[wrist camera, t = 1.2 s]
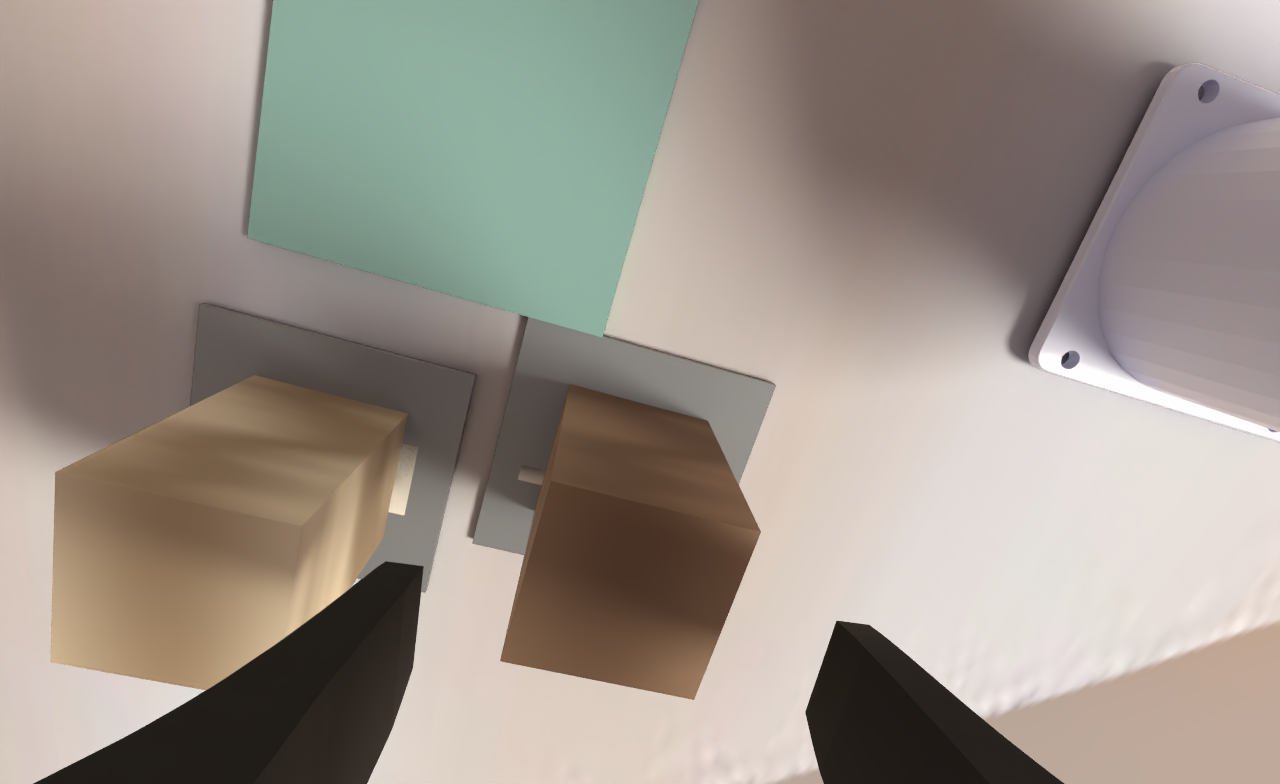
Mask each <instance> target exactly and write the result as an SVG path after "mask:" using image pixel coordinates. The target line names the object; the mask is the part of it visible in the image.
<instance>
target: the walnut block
mask: <svg viewBox="0 0 1280 784" xmlns="http://www.w3.org/2000/svg"><path fill="white" fill-rule="evenodd" d="M760 533H761V531H760V529H759V527H758V525H757V523H756V521H755V519H754V517H753V514H752V512H751V510H750V508H749V506H748V504H747V502H746V500H745V498H744V496H743V493H742V491H741V489H740V487H739V485H738V483H737V481H736V479H735V477H734V474H733V472H732V470H731V468H730V466H729V464H728V462H727V460H726V458H725V455H724V453H723V451H722V449H721V447H720V445H719V443H718V441H717V439H716V437H715V434H714V432H713V430H712V428H711V426H710V424H709V422H708V421H707V420H703V419H699V418H695V417H692V416H688V415H684V414H680V413H677V412H673V411H669V410H666V409H662V408H658V407H654V406H651V405H647V404H643V403H639V402H636V401H632V400H628V399H624V398H621V397H617V396H613V395H609V394H606V393H602V392H598V391H594V390H591V389H587V388H583V387H579V386H576V385H572V384H570V385H569V389H568V392H567V396H566V399H565V403H564V407H563V410H562V414H561V417H560V421H559V425H558V428H557V432H556V436H555V439H554V443H553V446H552V450H551V454H550V457H549V461H548V465H547V468H546V472H545V475H544V479H543V483H542V486H541V490H540V493H539V497H538V501H537V504H536V508H535V512H534V516H533V520H532V525H531V529H530V533H529V538H528V542H527V546H526V551H525V555H524V560H523V564H522V568H521V573H520V577H519V581H518V586H517V590H516V594H515V599H514V603H513V607H512V612H511V616H510V621H509V625H508V629H507V634H506V638H505V642H504V647H503V651H502V655H501V660H500V661H502V662H507V663H512V664H517V665H522V666H527V667H532V668H537V669H542V670H547V671H552V672H557V673H562V674H567V675H572V676H577V677H582V678H587V679H592V680H597V681H602V682H607V683H612V684H617V685H622V686H628V687H633V688H638V689H643V690H648V691H653V692H658V693H663V694H668V695H673V696H678V697H683V698H688V699H693V700H694V698H695V696H696V693H697V691H698V688H699V686H700V683H701V681H702V678H703V676H704V673H705V671H706V668H707V666H708V663H709V661H710V658H711V656H712V653H713V651H714V648H715V646H716V643H717V641H718V638H719V636H720V633H721V631H722V628H723V626H724V623H725V621H726V618H727V616H728V613H729V611H730V608H731V606H732V603H733V601H734V598H735V595H736V593H737V590H738V588H739V585H740V583H741V580H742V578H743V575H744V573H745V570H746V568H747V565H748V563H749V560H750V558H751V555H752V553H753V550H754V548H755V545H756V543H757V540H758V538H759V535H760Z"/></svg>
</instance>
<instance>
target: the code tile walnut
mask: <svg viewBox="0 0 1280 784" xmlns="http://www.w3.org/2000/svg"><path fill="white" fill-rule="evenodd" d="M570 384H572V385H576V386H579V387H583V388H587V389H591V390H594V391H598V392H602V393H606V394H609V395H613V396H617V397H621V398H624V399H628V400H632V401H636V402H639V403H643V404H647V405H651V406H654V407H658V408H662V409H666V410H669V411H673V412H677V413H680V414H684V415H688V416H692V417H695V418H699V419H703V420H707V421H708V422H709V424H710V426H711V428H712V430H713V432H714V434H715V437H716V439H717V441H718V443H719V445H720V447H721V449H722V451H723V453H724V455H725V458H726V460H727V462H728V464H729V466H730V468H731V470H732V472H733V474H734V477H735V479H736V481H737V483H738V485H739V482H740V480H741V477H742V474H743V472H744V469H745V466H746V464H747V461H748V458H749V456H750V453H751V450H752V448H753V445H754V443H755V440H756V437H757V435H758V432H759V429H760V427H761V424H762V421H763V419H764V416H765V413H766V411H767V408H768V405H769V403H770V400H771V398H772V395H773V392H774V390H775V387H776V385H775V384H774V383H770V382H767V381H763V380H760V379H756V378H753V377H749V376H746V375H742V374H738V373H735V372H731V371H728V370H724V369H721V368H717V367H714V366H710V365H706V364H703V363H699V362H696V361H692V360H689V359H685V358H681V357H678V356H674V355H671V354H667V353H664V352H660V351H657V350H653V349H649V348H646V347H642V346H639V345H635V344H632V343H628V342H625V341H621V340H617V339H614V338H610V337H607V336H603V337H598V336H595V335H591V334H588V333H584V332H580V331H577V330H573V329H570V328H566V327H563V326H559V325H555V324H552V323H548V322H545V321H541V320H538V319H534V318H530V317H528V321H527V325H526V329H525V333H524V337H523V341H522V345H521V349H520V353H519V357H518V361H517V365H516V369H515V373H514V377H513V381H512V385H511V390H510V394H509V398H508V402H507V406H506V410H505V414H504V418H503V422H502V426H501V430H500V434H499V438H498V442H497V446H496V450H495V454H494V458H493V462H492V466H491V470H490V474H489V478H488V482H487V486H486V490H485V494H484V498H483V502H482V506H481V511H480V515H479V519H478V523H477V527H476V531H475V535H474V539H473V544H477V545H481V546H486V547H490V548H495V549H499V550H504V551H508V552H513V553H517V554H521V555H525V551H526V546H527V542H528V538H529V533H530V529H531V525H532V520H533V516H534V512H535V508H536V504H537V501H538V497H539V493H540V490H541V486H542V483H543V479H544V475H545V472H546V468H547V465H548V461H549V457H550V454H551V450H552V446H553V443H554V439H555V436H556V432H557V428H558V425H559V421H560V417H561V414H562V410H563V407H564V403H565V399H566V396H567V392H568V389H569V385H570Z"/></svg>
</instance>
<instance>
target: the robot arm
mask: <svg viewBox="0 0 1280 784" xmlns="http://www.w3.org/2000/svg"><path fill="white" fill-rule="evenodd" d="M1201 85H1202V86H1203V89H1204V94H1203V98H1202V99H1201V100H1199V97H1198V92H1199V88H1200V87H1201ZM1067 352H1069V357H1068V360H1067V361H1066V362H1065V363H1064V364H1062V365H1061V359H1062V357H1063V355H1064V354H1065V353H1067ZM1028 357H1029V362H1030V363H1031V365H1032V366H1033V367H1035V368H1037V369H1039V370H1042V371H1045V372H1048V373H1051V374H1054V375H1058V376H1061V377H1064V378H1068V379H1071V380H1074V381H1077V382H1081V383H1084V384H1087V385H1091V386H1094V387H1097V388H1100V389H1104V390H1107V391H1110V392H1114V393H1117V394H1120V395H1123V396H1127V397H1130V398H1133V399H1137V400H1140V401H1143V402H1146V403H1150V404H1153V405H1156V406H1160V407H1163V408H1166V409H1169V410H1173V411H1176V412H1179V413H1183V414H1186V415H1189V416H1193V417H1196V418H1199V419H1202V420H1206V421H1209V422H1212V423H1216V424H1219V425H1222V426H1225V427H1229V428H1232V429H1235V430H1239V431H1242V432H1245V433H1248V434H1252V435H1255V436H1258V437H1262V438H1265V439H1268V440H1271V441H1275V442H1278V443H1280V95H1279V94H1276V93H1274V92H1271V91H1269V90H1266V89H1264V88H1261V87H1259V86H1256V85H1254V84H1251V83H1249V82H1246V81H1244V80H1241V79H1239V78H1237V77H1234V76H1232V75H1229V74H1227V73H1224V72H1222V71H1219V70H1217V69H1214V68H1212V67H1209V66H1207V65H1204V64H1202V63H1195V62H1192V63H1188V64H1184V65H1181V66H1177V67H1174V68H1173V69H1172V70H1170V71H1169V72H1168V73H1167V74H1166V75H1165V77H1164V78H1163V80H1162V81H1161V83H1160V85H1159V87H1158V89H1157V91H1156V93H1155V95H1154V97H1153V99H1152V101H1151V103H1150V105H1149V108H1148V110H1147V112H1146V114H1145V116H1144V118H1143V120H1142V122H1141V124H1140V126H1139V128H1138V130H1137V132H1136V134H1135V136H1134V138H1133V140H1132V142H1131V144H1130V146H1129V148H1128V150H1127V152H1126V154H1125V156H1124V158H1123V160H1122V162H1121V164H1120V166H1119V168H1118V170H1117V172H1116V174H1115V176H1114V178H1113V181H1112V183H1111V185H1110V187H1109V189H1108V191H1107V193H1106V195H1105V197H1104V199H1103V201H1102V203H1101V205H1100V207H1099V209H1098V211H1097V213H1096V215H1095V217H1094V219H1093V221H1092V223H1091V225H1090V227H1089V229H1088V231H1087V233H1086V235H1085V237H1084V239H1083V241H1082V243H1081V245H1080V247H1079V249H1078V251H1077V254H1076V256H1075V258H1074V260H1073V262H1072V264H1071V266H1070V268H1069V270H1068V272H1067V274H1066V276H1065V278H1064V280H1063V282H1062V284H1061V286H1060V288H1059V290H1058V292H1057V294H1056V296H1055V298H1054V300H1053V302H1052V304H1051V306H1050V308H1049V310H1048V312H1047V314H1046V316H1045V318H1044V320H1043V322H1042V324H1041V327H1040V329H1039V331H1038V333H1037V335H1036V337H1035V339H1034V341H1033V343H1032V345H1031V347H1030V350H1029V353H1028ZM423 568H424V566H419V565H411V564H404V563H396V562H388V561H385V562H384V563H382V564H381V565H379V566H378V567H377V568H375V569H374V570H373V571H371V572H370V573H369V574H368V575H366V576H365V577H364V578H363V579H361V580H360V581H359V582H358V583H356V584H355V585H354V586H352V587H351V588H350V589H349V590H347V591H346V592H345V593H344V594H342V595H341V596H340V597H338V598H337V599H336V600H335V601H333V602H332V603H331V604H329V605H328V606H327V607H325V608H324V609H323V610H322V611H320V612H319V613H318V614H316V615H315V616H313V617H312V618H311V619H309V620H308V621H307V622H305V623H304V624H303V625H301V626H300V627H299V628H297V629H296V630H294V631H293V632H292V633H290V634H289V635H288V636H286V637H285V638H284V639H282V640H281V641H279V642H278V643H277V644H275V645H274V646H272V647H271V648H269V649H268V650H266V651H265V652H263V653H262V654H260V655H259V656H257V657H256V658H254V659H253V660H251V661H250V662H248V663H247V664H246V665H244V666H243V667H241V668H240V669H238V670H237V671H235V672H234V673H232V674H231V675H229V676H228V677H226V678H225V679H223V680H222V681H220V682H218V683H217V684H215V685H214V686H212V687H211V688H209V689H207V690H206V691H204V692H203V693H201V694H199V695H198V696H196V697H194V698H193V699H191V700H190V701H188V702H186V703H185V704H183V705H181V706H180V707H178V708H176V709H174V710H173V711H171V712H169V713H167V714H166V715H164V716H162V717H160V718H159V719H157V720H155V721H153V722H152V723H150V724H148V725H146V726H145V727H143V728H141V729H139V730H137V731H135V732H134V733H132V734H130V735H128V736H126V737H124V738H123V739H121V740H119V741H117V742H115V743H113V744H111V745H109V746H107V747H105V748H103V749H101V750H99V751H97V752H95V753H93V754H91V755H89V756H87V757H85V758H83V759H81V760H79V761H77V762H75V763H73V764H71V765H69V766H67V767H65V768H63V769H61V770H59V771H58V772H56V773H54V774H52V775H50V776H48V777H46V778H44V779H42V780H40V781H38V782H36V783H34V784H367V782H368V780H369V778H370V776H371V774H372V772H373V769H374V767H375V765H376V763H377V761H378V759H379V756H380V754H381V752H382V750H383V748H384V746H385V743H386V741H387V739H388V737H389V735H390V732H391V730H392V728H393V725H394V722H395V719H396V716H397V713H398V710H399V707H400V705H401V702H402V699H403V696H404V693H405V690H406V687H407V684H408V681H409V678H410V675H411V672H412V669H413V662H414V652H415V643H416V634H417V624H418V615H419V606H420V596H421V587H422V577H423ZM806 717H807V721H808V726H809V730H810V734H811V739H812V743H813V747H814V751H815V755H816V759H817V762H818V766H819V770H820V774H821V776H822V779H823V782H824V784H1064V783H1063V782H1061V781H1060V780H1059V779H1057V778H1056V777H1055V776H1053V775H1052V774H1051V773H1049V772H1048V771H1047V770H1046V769H1044V768H1043V767H1042V766H1040V765H1039V764H1038V763H1037V762H1035V761H1034V760H1033V759H1032V758H1030V757H1029V756H1028V755H1026V754H1025V753H1024V752H1022V751H1021V750H1020V749H1019V748H1017V747H1016V746H1015V745H1014V744H1012V743H1011V742H1010V741H1008V740H1007V739H1006V738H1005V737H1004V736H1002V735H1001V734H1000V733H999V732H997V731H996V730H995V729H994V728H993V727H991V726H990V725H989V724H988V723H987V722H985V721H984V720H983V719H982V718H981V717H979V716H978V715H977V714H976V713H975V712H973V711H972V710H971V709H970V708H969V707H967V706H966V705H965V704H964V703H963V702H961V701H960V700H959V699H958V698H957V697H956V696H954V695H953V694H952V693H951V692H950V691H949V690H947V689H946V688H945V687H944V686H943V685H942V684H940V683H939V682H938V681H937V680H936V679H935V678H933V677H932V676H931V675H930V674H929V673H928V672H926V671H925V670H924V669H923V668H922V667H921V666H919V665H918V664H917V663H916V662H915V661H913V660H912V659H911V658H910V657H909V656H908V655H906V654H905V653H904V652H903V651H902V650H900V649H899V648H898V647H897V646H896V645H894V644H893V643H892V642H891V641H890V640H888V639H887V638H886V637H884V636H883V635H882V634H881V633H879V632H878V631H877V630H875V629H874V628H873V627H871V626H870V625H866V624H858V623H850V622H843V621H836V624H835V627H834V630H833V633H832V636H831V639H830V642H829V645H828V648H827V651H826V653H825V656H824V659H823V662H822V665H821V668H820V671H819V674H818V677H817V680H816V683H815V686H814V689H813V691H812V694H811V697H810V700H809V703H808V706H807V709H806Z"/></svg>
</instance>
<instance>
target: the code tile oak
mask: <svg viewBox="0 0 1280 784" xmlns="http://www.w3.org/2000/svg"><path fill="white" fill-rule="evenodd" d="M254 375H257V376H261V377H265V378H269V379H273V380H277V381H281V382H285V383H289V384H293V385H296V386H300V387H304V388H308V389H312V390H316V391H320V392H324V393H328V394H332V395H336V396H340V397H344V398H348V399H352V400H356V401H360V402H364V403H368V404H372V405H376V406H380V407H384V408H388V409H392V410H396V411H400V412H404V413H408V416H407V421H406V426H405V431H404V436H403V441H402V446H401V451H400V456H399V461H398V466H397V471H396V476H395V481H394V486H393V491H392V496H391V501H390V506H389V511H388V516H387V521H386V526H385V531H384V536H383V540H382V541H381V543H380V544H379V546H378V547H377V549H376V550H375V552H374V553H373V555H372V556H371V558H370V559H369V561H368V562H367V564H366V565H365V567H364V568H363V570H362V571H361V573H360V574H359V576H358V577H357V578H358V579H363V578H364V577H365V576H366V575H368V574H369V573H370V572H371V571H373V570H374V569H375V568H377V567H378V566H379V565H381V564H382V563H384V562H385V561H388V562H396V563H404V564H411V565H419V566H424V568H423V577H422V587H421V592H426V590H427V587H428V582H429V578H430V574H431V569H432V565H433V560H434V556H435V552H436V547H437V543H438V539H439V534H440V530H441V526H442V521H443V517H444V513H445V508H446V504H447V499H448V495H449V491H450V486H451V482H452V478H453V473H454V469H455V465H456V460H457V456H458V452H459V447H460V443H461V438H462V434H463V430H464V425H465V421H466V417H467V412H468V408H469V404H470V399H471V395H472V390H473V386H474V382H475V377H476V375H475V374H471V373H467V372H463V371H460V370H456V369H452V368H448V367H444V366H441V365H437V364H433V363H429V362H425V361H422V360H418V359H414V358H410V357H406V356H403V355H399V354H395V353H391V352H387V351H384V350H380V349H376V348H372V347H369V346H365V345H361V344H357V343H353V342H350V341H346V340H342V339H338V338H334V337H331V336H327V335H323V334H319V333H315V332H312V331H308V330H304V329H300V328H296V327H293V326H289V325H285V324H281V323H277V322H274V321H270V320H266V319H262V318H259V317H255V316H251V315H247V314H243V313H240V312H236V311H232V310H228V309H224V308H221V307H217V306H213V305H209V304H205V303H203V304H199V313H198V324H197V335H196V346H195V357H194V368H193V379H192V390H191V401H190V406H192V405H194V404H196V403H198V402H200V401H202V400H204V399H206V398H208V397H210V396H213V395H215V394H217V393H219V392H221V391H223V390H225V389H227V388H229V387H231V386H233V385H235V384H237V383H239V382H241V381H243V380H245V379H247V378H249V377H251V376H254Z"/></svg>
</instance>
